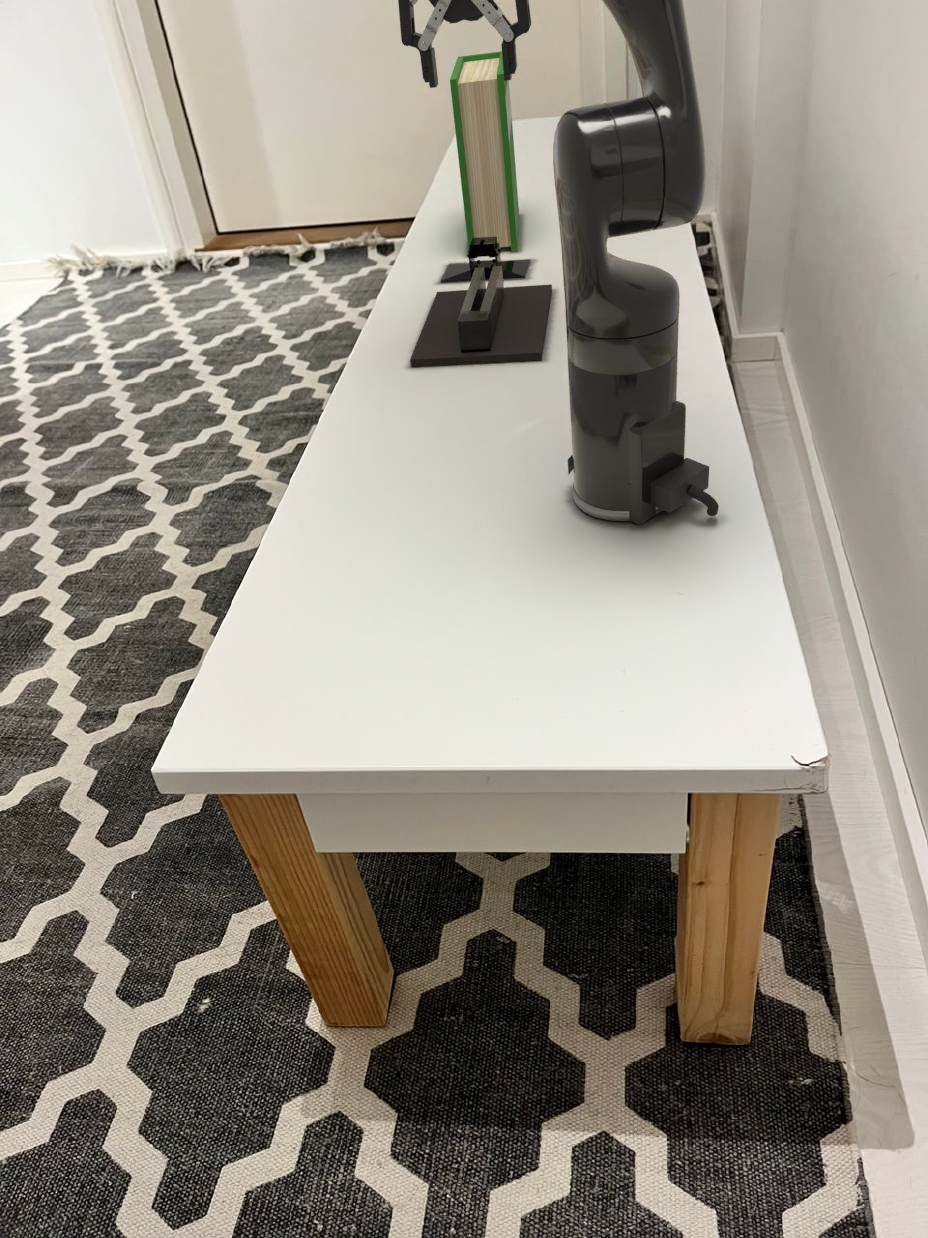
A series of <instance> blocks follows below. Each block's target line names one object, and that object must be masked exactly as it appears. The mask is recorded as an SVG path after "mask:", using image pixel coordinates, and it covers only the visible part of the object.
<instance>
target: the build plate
mask: <svg viewBox="0 0 928 1238" xmlns="http://www.w3.org/2000/svg"><path fill="white" fill-rule="evenodd" d="M501 252H502V247H500V246H499V243H497V237H480V238H472V240H471V242H470V244H469V249H468V251H467V255H466V256H467V257H466V258H468V262H457V263H456V262H455V263H449V264H448V265H447V267H446V268H445V271H444V273H442V277H441V278H440V283H441V284H450V283H467V282H469V283H470V282H471V279H472V276H473V273H474V270H475V268H479V267H484V273H485V282H486V281H487V282H489V278H490V275H491V272H492V268H493V266H502V273H503V281H506V280H524V279H526V278H527V275H528V271H529V268H530V265H531V262H532V259H531V258H528V259H510V260H502V259H501ZM479 257H480V258H481V257H488V258H493V259H487V260H486V259H485V260H481V259H477V258H479ZM475 259H477V260H475Z"/></svg>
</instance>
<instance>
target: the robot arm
mask: <svg viewBox="0 0 928 1238" xmlns="http://www.w3.org/2000/svg"><path fill="white" fill-rule="evenodd" d="M428 1H429V3H430V4H431V6H432V7H433V8H434V9H433V10H432V13H431V15H430V17H429V19H428V21H427V23H426V25H425V28H424V29H423V32H422V33H420V32H416V22H415V8H414V5H416V4H417V3H418V2H419V0H397V3H398V12H399V13H398V14H399V28H400V38H401V43H402V45H403V46H405V47H411V48H415V49H416V50H417V51H418V52H419V56H420V65H421V73H422V79H423V81H424V82H425V83H428V85H429V88H430V89H434V88H437V87H438V86H439V75H438V68H437V58H436V50H435V47H433V44H432V43H433V42H434V40H435V38H436V36H437V34H438V32H439V30H440V28H441V26H442V24H443V22H444V21H445V22H448V23H449V24H458V23H460V22H462V21H468V22H476V21H479V20H480V19H482V18H483V17H484V18H485V19H486V20H487V22H488V23H489V24H490V26H492V27H493V28H494V29H495V30H496V32H497V33H498V34H499V35H500V37H501V38H502V41H501V45H500V46H501V51H502V59H503V72H504V81H507V80H509V81H511V80H512V77H513V75H515V74H516V71H517V69H518V68H517V67H518V61H517V47H516V46H517V45H516V40H517V38H518V37H521V36H522V35H524V34H527V33H528V32H529V31H530V28H531V26H532V17H531V10H530V1H529V0H514V1H515V2H514V3H515V10H516V18H517V20H516V21H515V22H513V23H511V22H510V20H509V19H508V18H507V16H506V15H505V13H504V12H503V9H501V7H500V6H499V5H498V3H497V2H496V1H495V0H428ZM601 1H602V3H603V4H604V5H605V7H606V9H607V10H608V11H609V13H610V14H611V16H612V17H613V19H614V21H615V23H617V26H618V28H619V30H620V31H621V33H622V35H623V38H624V40H625V42H626V44H627V47H628V50H629V52H630V55H631V58H632V61H633V64H634V67H635V70H636V73H637V77H638V82H639V85H640V91H641V97H635V98H627V99H622V100H615V101H608V102H603V103H596V104H590V105H584V106H578V107H575V108H572V109H569V110H567V111H566V112H564V113H563V114H562V115H561V116H560V118H559V119H558V122H557V124H556V128H555V131H554V138H553V145H552V155H553V156H552V165H553V177H554V178H553V180H554V188H555V189H554V190H555V198H556V207H557V208H556V209H557V216H558V217H557V218H558V224H559V225H558V226H559V235H560V236H559V237H560V247H561V262H562V263H561V264H562V280H563V293H564V304H565V305H564V306H565V307H564V309H565V327H566V328H565V330H566V347H567V349H566V350H567V351H566V352H567V373H568V393H569V411H570V412H569V413H570V414H569V415H570V432H571V436H570V437H571V452H572V453H571V455H570V456H569V457H568V459H567V470H568V471H567V472H568V473H567V475H568V476H569V475H570V474H571V472H572V471H573V483H572V493H573V494H572V495H573V500H574V503H575V504H576V506H577V507H578V508H579V509H580V510H581V511H583V512H584V513H586V514H587V515H589V516H592V517H595V518H597V519H601V520H605V521H613V522H631V523H634V524H636V525H642V524H644V523H645V522H647V521H649V520H650V519H652V518H653V517H654V516H656V515H658V514H660V513H661V512H663V511H664V512H666V513H669V514H670V513H672V512H674V511H676V509H678V508H680V507H682V506H683V505H684V504H686V503H688V502H689V501H690V500H692V499H695V500H696V501H698V502H700V503H701V504H703V505H704V506H705V507H706V508H707V509H706V514H707V515H708V516H709V517H715V516H717V515H718V512H719V508H720V506H719V503H718V501H716V499H715V498H714V497H713V496H712V495H711V494H709V493H708V492H706V491H705V490H707V489H709V481H710V479H709V477H710V466H709V465H706V464H704V463H701V462H699V461H697V460H694V459H691V458H688V457H685V453H686V452H685V448H686V423H687V421H686V419H687V406H686V404H685V402H681V401H679V400H677V396H678V394H677V392H678V390H677V389H678V360H679V359H678V356H679V355H678V353H679V328H680V327H679V326H680V325H679V324H680V323H679V322H680V321H679V320H680V287H679V284H678V281H677V279H676V278H675V277H674V276H673V275H672V274H671V273H669V272H668V271H667V270H664V269H662V268H660V267H657V266H654V265H650V264H647V263H642V262H637V261H634V260H633V261H632V260H628V259H624V258H621V257H619V256H617V255H615V254H612V253H610V252H609V251H608V247H607V246H608V245H607V244H608V239H610V238H616V237H623V236H629V235H635V234H640V233H648V232H651V231H657V230H658V231H659V230H663V229H669V228H675V227H680V226H683V225H686V224H689V223H691V222H692V221H693V220H694V219H696V217H697V215H698V214H699V212H700V210H701V208H702V205H703V201H704V196H705V191H706V180H707V179H706V177H707V170H706V169H707V168H706V165H707V163H706V148H705V136H704V129H703V121H702V115H701V107H700V102H699V96H698V88H697V82H696V76H695V69H694V63H693V57H692V50H691V45H690V38H689V31H688V25H687V18H686V13H685V6H684V0H601Z"/></svg>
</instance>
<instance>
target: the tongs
mask: <svg viewBox="0 0 928 1238" xmlns="http://www.w3.org/2000/svg"><path fill="white" fill-rule="evenodd" d="M486 283H487V284H486ZM504 285H505V284H504V280H503V273H502V266H493V268H492V272H491V275H490V278H489V281H487V282H486V281H485V273H484V267H479V268H475V270H474V273H473V276H472V279H471V282H469V286H468V289H467V290H468V291H467V294H466V297H465V301H464V304H463V307H462V310H461V313H460V316H459V319H458V330H459V338H460V347H461V353H466V352H484V351H490V350H491V346H492V343H493V339H494V335H495V331H496V327H497V323H498V319H499V315H500V311H501V307H502V303H503V299H504V287H505V286H504Z"/></svg>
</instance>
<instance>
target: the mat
mask: <svg viewBox="0 0 928 1238" xmlns="http://www.w3.org/2000/svg"><path fill="white" fill-rule="evenodd" d="M467 291H468V289H463V290H461V289H459V290H449V291H448V290H446V291H445V290H444V291H437V292H436V294H435V295H434V299H433V302H432V304H431V305H430V308H429V311H428V314H427V316H426V318H425V321H424V324H423V326H422V329H421V331H420V334H419V336H418V339H417V341H416V344H415V347H414V348H413V352H412V354H411V357H410V360H409V361H410V367H411V368H420V367H439V366H457V365H476V364H477V365H478V364H494V363H495V364H496V363H513V362H533V361H534V362H535V361H542V359H543V353H544V346H545V341H546V334H547V327H548V321H549V315H550V307H551V302H552V295H553V284H552V283H551V284H550V283H549V284H536V285H523V286H522V285H521V286H507V287H505V286H504V299H503V303H502V307H501V311H500V315H499V319H498V323H497V327H496V331H495V335H494V339H493V343H492V346H491V350H490V351H484V352H466V353H461V347H460V338H459V330H458V319H459V316H460V313H461V310H462V307H463V304H464V301H465V297H466V294H467Z"/></svg>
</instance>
